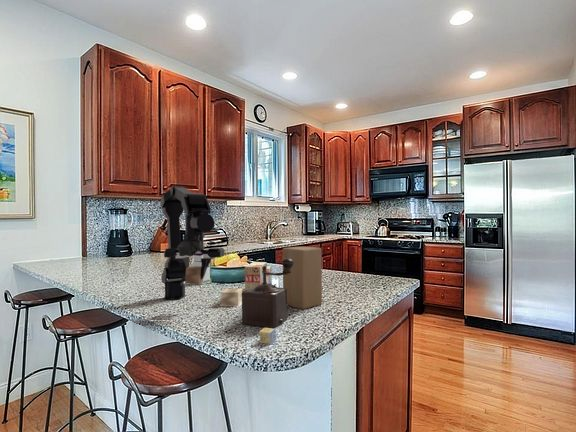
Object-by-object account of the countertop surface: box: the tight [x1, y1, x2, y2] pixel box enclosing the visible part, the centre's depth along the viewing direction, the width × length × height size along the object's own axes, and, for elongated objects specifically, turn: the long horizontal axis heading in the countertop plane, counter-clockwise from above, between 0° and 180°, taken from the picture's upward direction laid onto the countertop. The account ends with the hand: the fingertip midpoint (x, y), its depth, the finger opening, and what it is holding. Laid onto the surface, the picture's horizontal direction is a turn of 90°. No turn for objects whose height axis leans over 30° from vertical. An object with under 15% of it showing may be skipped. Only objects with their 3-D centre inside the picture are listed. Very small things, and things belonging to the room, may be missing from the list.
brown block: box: [184, 265, 203, 285], centre depth 111 cm, size 4×4×5 cm
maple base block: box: [220, 288, 243, 305], centre depth 120 cm, size 6×6×4 cm
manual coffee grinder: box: [241, 258, 293, 329], centre depth 102 cm, size 16×11×18 cm
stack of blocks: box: [244, 261, 273, 292], centre depth 140 cm, size 21×6×12 cm, turn 171°
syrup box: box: [193, 255, 212, 286], centre depth 159 cm, size 6×6×14 cm
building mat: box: [219, 302, 242, 307], centre depth 119 cm, size 13×15×1 cm
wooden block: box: [282, 245, 323, 310], centre depth 119 cm, size 10×10×20 cm
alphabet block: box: [259, 328, 277, 345], centre depth 84 cm, size 3×3×3 cm
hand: (194, 278), depth 111 cm, fingers closed on brown block, 5 cm apart
